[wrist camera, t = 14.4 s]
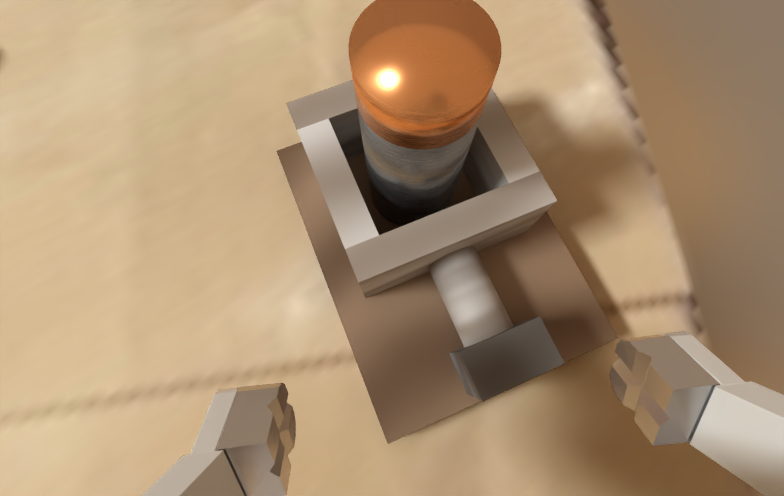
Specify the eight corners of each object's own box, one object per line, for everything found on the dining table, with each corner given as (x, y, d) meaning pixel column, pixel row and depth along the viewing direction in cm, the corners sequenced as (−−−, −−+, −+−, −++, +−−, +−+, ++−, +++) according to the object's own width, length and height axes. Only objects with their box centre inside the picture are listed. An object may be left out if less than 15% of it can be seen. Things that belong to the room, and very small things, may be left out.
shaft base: (601, 339, 20) (676, 331, 15) (388, 437, 19) (386, 467, 14) (466, 96, 24) (487, 23, 19) (283, 164, 23) (251, 105, 18)
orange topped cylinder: (466, 208, 21) (528, 80, 11) (389, 239, 20) (383, 134, 10) (432, 140, 22) (461, -32, 12) (358, 168, 21) (327, 13, 12)
